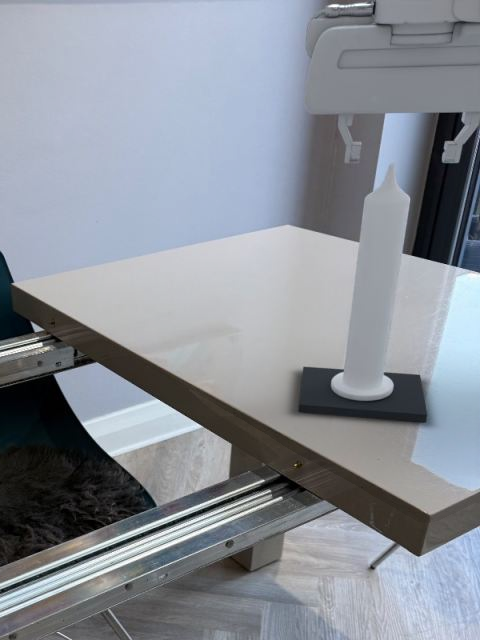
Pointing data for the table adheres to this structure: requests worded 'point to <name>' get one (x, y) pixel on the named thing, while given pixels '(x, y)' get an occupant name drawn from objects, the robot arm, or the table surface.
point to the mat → (396, 406)
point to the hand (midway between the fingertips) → (400, 162)
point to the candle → (374, 293)
